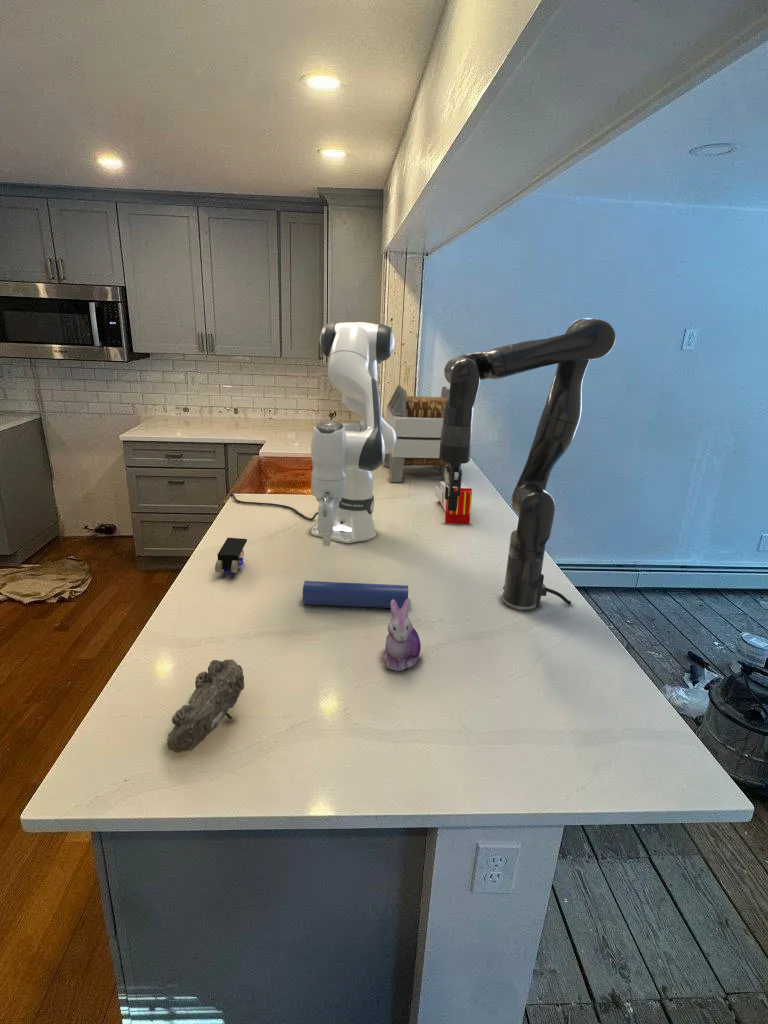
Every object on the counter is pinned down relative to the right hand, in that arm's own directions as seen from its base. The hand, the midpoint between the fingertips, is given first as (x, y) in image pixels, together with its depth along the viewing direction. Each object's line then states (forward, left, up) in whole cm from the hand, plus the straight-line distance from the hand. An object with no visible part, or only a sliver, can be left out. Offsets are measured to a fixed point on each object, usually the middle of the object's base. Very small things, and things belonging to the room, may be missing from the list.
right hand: (450, 504), depth 143 cm
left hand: (+30, -5, -11) cm, 33 cm away
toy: (-22, -73, -29) cm, 81 cm away
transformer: (-20, -128, -29) cm, 133 cm away
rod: (+23, -2, -29) cm, 37 cm away
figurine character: (+58, -25, -29) cm, 69 cm away
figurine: (+15, +24, -29) cm, 41 cm away
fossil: (+54, +40, -29) cm, 73 cm away
